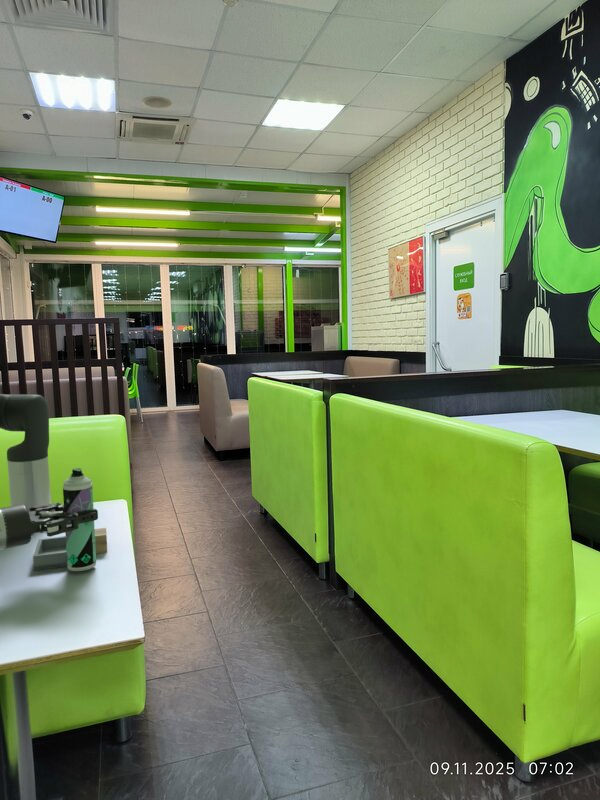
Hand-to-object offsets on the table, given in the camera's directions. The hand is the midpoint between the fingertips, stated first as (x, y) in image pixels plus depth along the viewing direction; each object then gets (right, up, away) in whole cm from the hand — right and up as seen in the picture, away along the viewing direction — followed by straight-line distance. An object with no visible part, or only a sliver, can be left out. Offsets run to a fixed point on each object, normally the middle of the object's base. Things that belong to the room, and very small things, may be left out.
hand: (91, 510), depth 113 cm
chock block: (-2, -11, +11) cm, 16 cm away
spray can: (-2, -11, 0) cm, 11 cm away
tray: (-8, -11, +6) cm, 15 cm away
